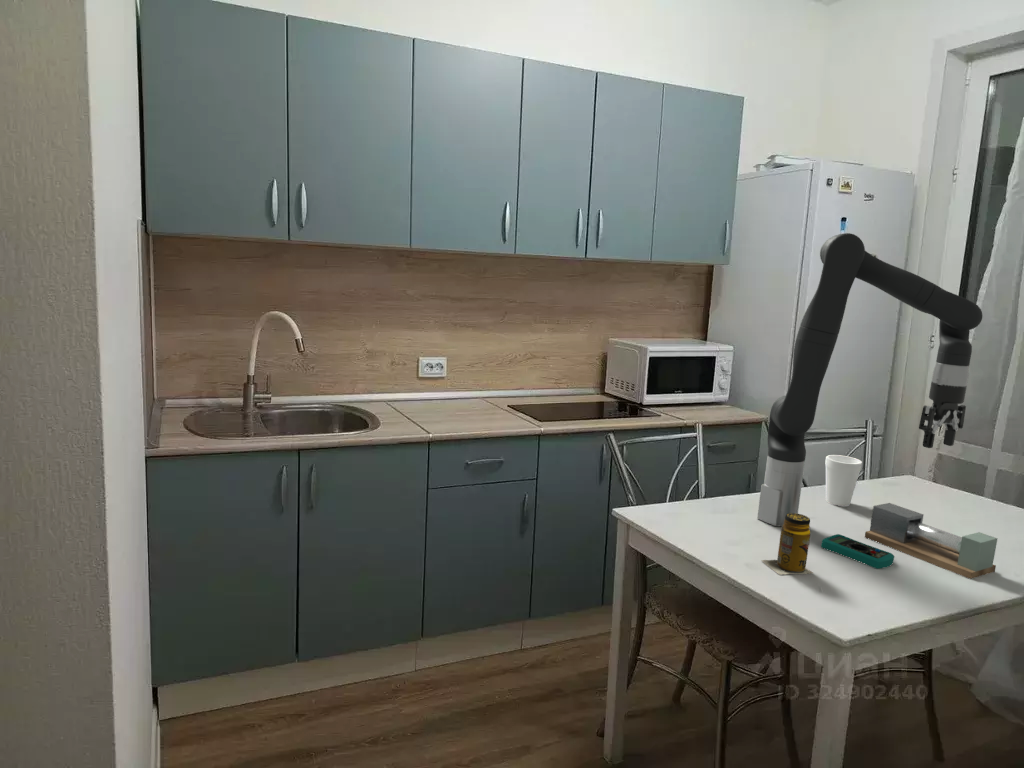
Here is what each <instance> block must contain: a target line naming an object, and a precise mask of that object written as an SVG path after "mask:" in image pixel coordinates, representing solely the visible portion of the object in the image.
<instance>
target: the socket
mask: <svg viewBox="0 0 1024 768" xmlns="http://www.w3.org/2000/svg"><path fill="white" fill-rule="evenodd" d="M961 537H962V541H961V547H960V552H959V558H958V564H957V565H960V566H962V567H965V568H967V569H970V570H973V571H975V572H976V571H979V570H983V569H986V568H989V567H992V566H993V565H994V560H995V556H996V549H997V545H998V544H997V543H998V538H997V537H994V536H991V535H989V534H987V533H983V532H980V531H978V532H974V533H970V534H966V535H963V536H961Z"/></svg>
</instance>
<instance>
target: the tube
mask: <svg viewBox="0 0 1024 768" xmlns="http://www.w3.org/2000/svg"><path fill="white" fill-rule="evenodd" d="M907 535H908V536H910V537H913V538H916V539H918V540H921V541H924V542H927V543H929V544H932V545H935V546H937V547H940V548H943V549H945V550H948V551H951V552H953V553H956V554H959V552H960V547H961V541H962V536H959V535H957V534H955V533H954V534H953V533H951V532H948V531H945V530H942V529H939V528H937V527H933V526H931V525H928V524H925V523H923V522H922V523H920V522H917V521H914V520H910V521H909V525H908V531H907Z"/></svg>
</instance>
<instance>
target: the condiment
mask: <svg viewBox="0 0 1024 768" xmlns="http://www.w3.org/2000/svg"><path fill="white" fill-rule="evenodd" d="M810 522H811V519H810V517H808V516H807V515H804V514H800V513H798V514H797V513H788V514H786V516H785V520H784V525H783V526H781V528H780V537H779V544H778V550H777V551H778V552H777V559H761V562H763V564H764V565H766V566H767V567H768V568H769V569H770V570H772V571H774V572H775V573H777V574H778V575H779V576H781V575H785V576H786V575H808V574H809V575H810V574H814V572H813V571H812V570H810V569H808V568H807V567H806V566H807V559H808V554H809V547H810V546H809V545H810V537H811V530H810V528H811V527H810V525H811V523H810Z"/></svg>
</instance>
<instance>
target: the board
mask: <svg viewBox="0 0 1024 768" xmlns="http://www.w3.org/2000/svg"><path fill="white" fill-rule="evenodd" d="M864 533H865V534H864V538H865V537H866V538H865V539H868V538H869V540H870V539H871V540H870V541H873V540H874V541H873V542H875V541H877V542H876V543H878V542H879V543H878V544H880V543H882V544H881V545H883V544H884V545H883V546H886V547H888V546H889V547H888V548H891V547H892V548H891V549H893V548H894V549H893V550H896V549H897V550H896V551H898V550H899V551H898V552H901V551H902V552H901V553H903V552H904V554H906V555H908V554H909V556H911V557H914V558H916V559H919V560H921V561H923V562H925V563H929V564H932V565H934V566H935V567H939V568H942V569H944V570H947V571H949V572H951V573H954V574H957V575H959V576H962V577H964V578H967V579H969V578H970V580H972V578H973V579H975V578H980V577H982V576H985V575H988V574H992V573H995V572H996V564H993V566H992V567H989V568H986V569H983V570H979V571H976V572H975V571H973V570H970V569H967V568H965V567H962V566H960V565H957V564H958V558H959V554H956V553H953V552H951V551H948V550H945V549H943V548H940V547H937V546H935V545H932V544H929V543H927V542H924V541H921V540H917V541H913V542H909V543H904V544H903V543H900V542H898V541H895V540H893V539H890V538H887V537H885V536H882V535H879V534H877V533H874V532H872V531H870V530H868V531H865V532H864Z"/></svg>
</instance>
